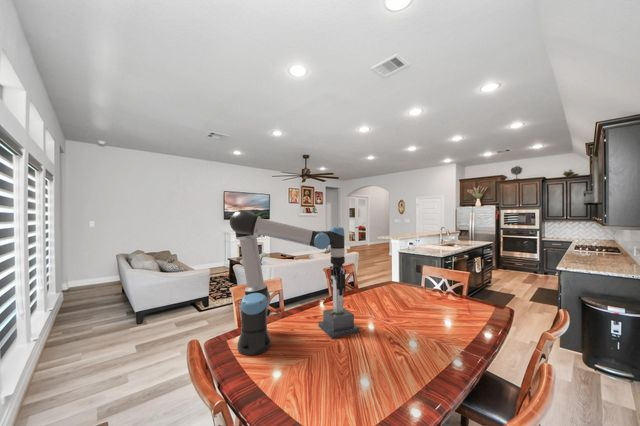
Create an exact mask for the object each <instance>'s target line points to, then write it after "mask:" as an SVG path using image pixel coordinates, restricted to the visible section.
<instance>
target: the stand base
mask: <svg viewBox="0 0 640 426" xmlns="http://www.w3.org/2000/svg"><path fill="white" fill-rule="evenodd" d="M343 312H344V314H338V315H336V314H334V312H333V308H330V309H325V310H322V316H323V319H322V321H318V327H319V329H321V331H323V332H324V333H325V334H326V335H328V337H329V338H330V339H331V340H332V339H337V338H342V337H345V336H350V335H355V334H358V333H360V327H359V326H358V325H356V324H355V314H354V313H353V312H351V311H349V310H347V309H346V308H344V307H343Z"/></svg>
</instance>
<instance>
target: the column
mask: <svg viewBox="0 0 640 426" xmlns="http://www.w3.org/2000/svg"><path fill="white" fill-rule="evenodd" d="M331 279H333V285H332V309H333V312H334V314H336V315H338V314H344V312H343V308H344V300H343V301H340V302H338V296H337V288H338V277H337V276H336V275H331V274H330V280H331Z"/></svg>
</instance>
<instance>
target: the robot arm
mask: <svg viewBox="0 0 640 426" xmlns="http://www.w3.org/2000/svg"><path fill="white" fill-rule="evenodd" d="M229 226H230V227H231V229H232V231H233V232H234V233H235V238H236V239H238V241H239V243H240V250H241V251H240V252H241V257H242V264H243V270H244V277H245V282H246V287H245V288H244V296H243V297H242V299H241V302H240V319H241V321H240V323H241V325H240V328H241V331H240V332H241V333H240V336H239V339H238V341H237V351H238V353H240V354H242V355H245V356H254V355H260V354H263V353H265V352H266V351H268V350H270V348H271V346H272V340H271V339H272V338H271V337H270V334H269V330H268V309H269V306H270V304H271V295H270V292H269V289H268V284H266V283H265V282H264V275H263V271H262V269H263V268H262V263H261V258H260V257H261V256H260V252H259V251H260V250H259V244H258V239H257V238H258V236H259V235H260V236H265V237H269V238H274V239H278V240H283V241H287V242H290V243H291V242H292V243H296V244H301V245H306V246H310V247H313V248H316V249H318V250H325V249H327V248H328V247H329V246H330V249H329V250H330V251H329V252H330V264H331V265H330V266H329V268H330V276H331V275H336V276H337V277H338V288H337V296H338V302H340V301H343V302H344V289H346V273H347V270H346V269H344V266H343V265H344V264H345V263H346V257H345V251H346V249H345V237H346V235H345V229H344V227H343V226H342V227H341V226H331V227H330V229H329V230H325V231H324V230H320V231H319V230H312V229H306V228H302V227H299V226H295V225H290V224H287V223H282V222H277V221H274V220H270V219H265V218H262V217H261V216H260V215H257V214H256V213H255V212H254V211H252V210H249V209H238V210H236V211H234V212H233V213H232V214H231V215H230V218H229ZM330 284H331V285H332V286H333V279H331V278H330Z"/></svg>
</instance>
